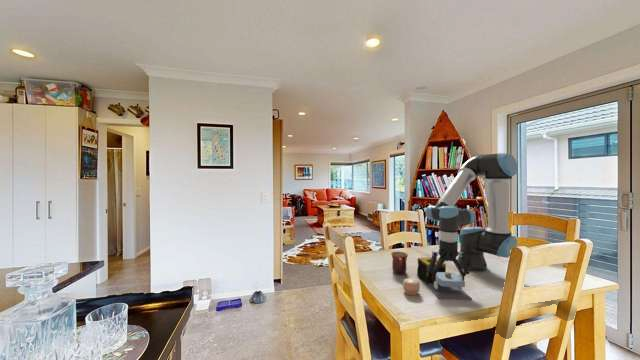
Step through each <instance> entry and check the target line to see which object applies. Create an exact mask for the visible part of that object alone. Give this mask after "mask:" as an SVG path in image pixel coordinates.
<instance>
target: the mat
mask: <svg viewBox="0 0 640 360" xmlns="http://www.w3.org/2000/svg"><path fill="white" fill-rule="evenodd" d="M426 285H427V287H428V288H429V289H430V291H431V292H432V293H433V294H434V295H435V296H436V298H437V299H439V300H460V301H461V300H466V301H472V299H473V298H472V297H471V296H470V295H469V294H468V293H467V292H466V291H465V290H463V289H462V290H460V289H459V288H458V287H448V286H440V284H438V289H435V287H434V284H432V283H427V284H426Z"/></svg>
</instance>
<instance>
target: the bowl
mask: <svg viewBox="0 0 640 360" xmlns="http://www.w3.org/2000/svg"><path fill="white" fill-rule="evenodd" d="M402 281H403V282H402V285H403V286H402V289H403V291H404V292H405V294H407V295H409V296H416V295H418V293H419V292H420V288H421V287H420V281H419V280H417V279H415V278H412V277H411V278H408V277H407V278H405V279H403V280H402Z"/></svg>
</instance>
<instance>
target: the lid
mask: <svg viewBox="0 0 640 360" xmlns="http://www.w3.org/2000/svg"><path fill="white" fill-rule="evenodd" d="M437 275H438V283H439V284H440V286H448V287H462V288H465V286H466V284H465V283H466V281H465V280H464V281H463V280H462V279H461V278H460V277H459V276H458V274H457V273H455V272H449V271H447V272H437Z"/></svg>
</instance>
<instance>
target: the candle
mask: <svg viewBox="0 0 640 360" xmlns="http://www.w3.org/2000/svg"><path fill="white" fill-rule="evenodd" d="M431 258H432V257H417V269H416V270H417V272H416V273H417V274H416V276H417V277H418V279H420V280H422V282H424V283H425V284H426V285H427V283H432V284H434V281H433V280H432V273H430V272H429V271H428V267H429V264H430V261H431ZM438 260H439V258H437V259H436V262H435V265H436V263H437V262H438ZM435 265H434V266H435ZM446 268H447V264H446V262H444V263H443V264H442V266H441V267H440V269H439V270H438V272H446V271H447V269H446ZM438 284H439V283H438Z"/></svg>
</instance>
